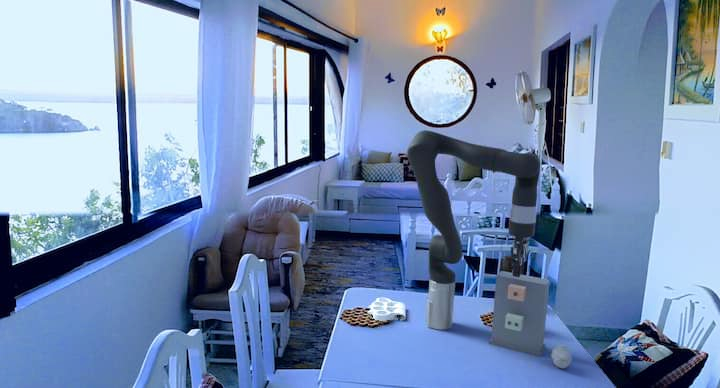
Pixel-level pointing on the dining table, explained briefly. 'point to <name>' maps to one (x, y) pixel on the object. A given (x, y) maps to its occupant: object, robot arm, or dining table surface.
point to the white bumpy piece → (387, 309)
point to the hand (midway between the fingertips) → (517, 274)
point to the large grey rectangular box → (520, 314)
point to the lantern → (506, 263)
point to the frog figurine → (561, 356)
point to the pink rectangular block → (516, 292)
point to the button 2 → (514, 322)
